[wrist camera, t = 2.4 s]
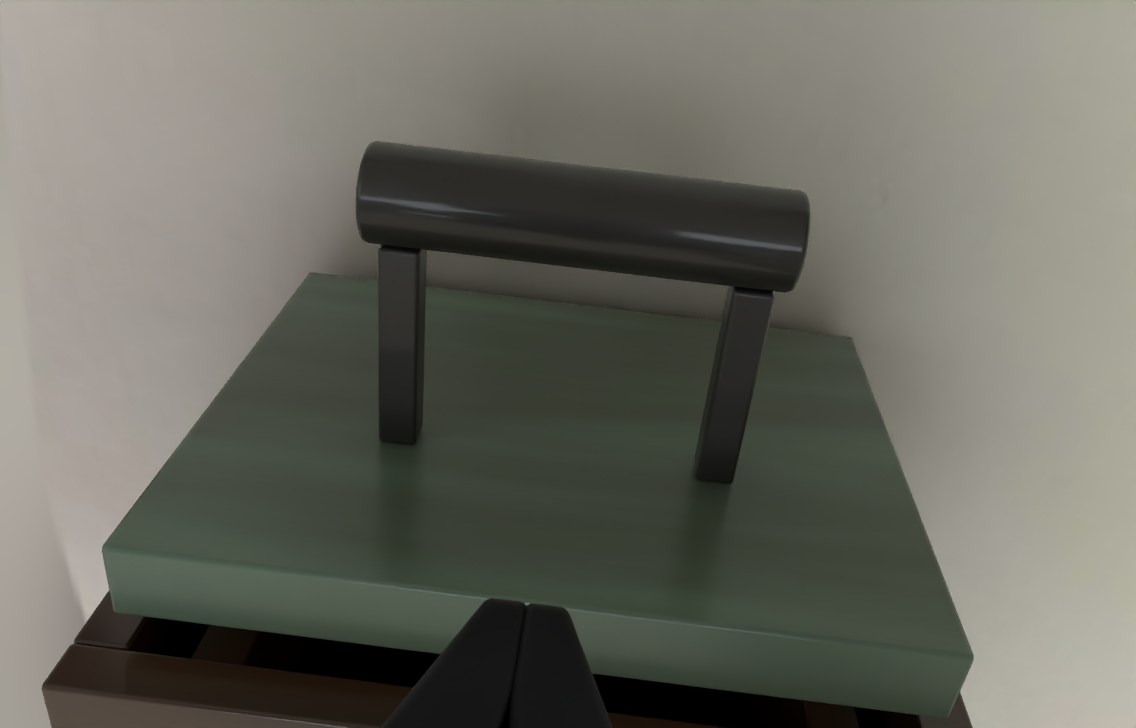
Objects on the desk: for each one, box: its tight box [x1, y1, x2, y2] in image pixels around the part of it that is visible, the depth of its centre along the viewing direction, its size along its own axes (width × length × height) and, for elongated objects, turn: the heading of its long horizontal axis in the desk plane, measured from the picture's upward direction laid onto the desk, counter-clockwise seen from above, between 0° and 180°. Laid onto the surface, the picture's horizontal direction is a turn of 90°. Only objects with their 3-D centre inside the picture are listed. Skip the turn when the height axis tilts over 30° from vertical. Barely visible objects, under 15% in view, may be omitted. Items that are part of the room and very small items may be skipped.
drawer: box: [102, 141, 974, 728], centre depth 17 cm, size 14×11×9 cm
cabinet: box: [42, 590, 973, 728], centre depth 20 cm, size 11×13×11 cm
